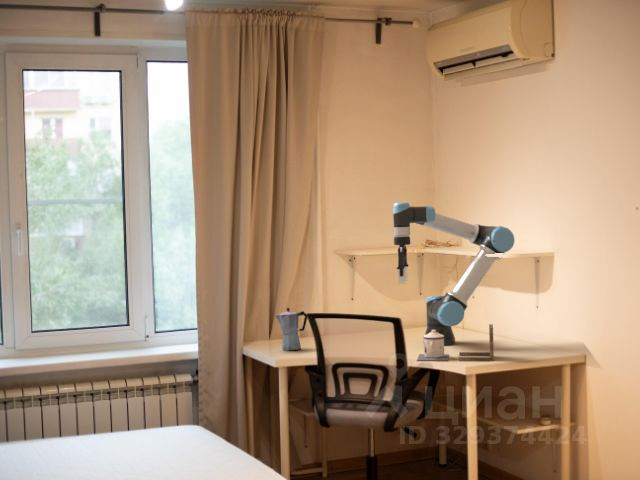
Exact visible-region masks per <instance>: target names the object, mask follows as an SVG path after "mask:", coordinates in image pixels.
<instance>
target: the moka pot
mask: <svg viewBox="0 0 640 480" xmlns="http://www.w3.org/2000/svg"><path fill="white" fill-rule="evenodd" d="M301 316H304V318H303V325H302V328H300V329H299V317H301ZM307 316H308V314H307V313H305V311H304V310H302V311H296V312H294V311H290V307H286V311H284V312H281V313H277V314H276V315H275V318H276V319H277V321H278V323H279V325H280V329H281V330H282V335H281V336H282V343H281V344H282V345H281V346H282V347H281V349H282V350H283V351H287V352H288V351H296V350H300V349H301V348H302V346H301V342H300V336H299V333H298V332H303V331H305V327H306V325H307V320H308V317H307Z"/></svg>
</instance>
